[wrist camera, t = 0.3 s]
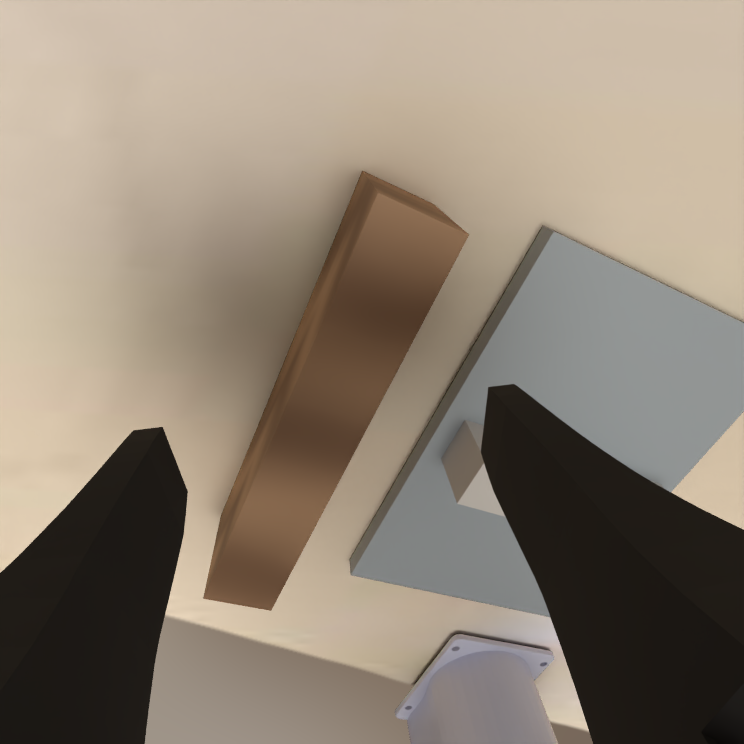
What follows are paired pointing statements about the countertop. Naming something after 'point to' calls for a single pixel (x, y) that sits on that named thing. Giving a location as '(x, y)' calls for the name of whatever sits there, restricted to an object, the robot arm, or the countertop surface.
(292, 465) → the walnut batten
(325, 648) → the countertop surface
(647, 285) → the ridge board
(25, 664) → the robot arm
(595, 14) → the countertop surface
